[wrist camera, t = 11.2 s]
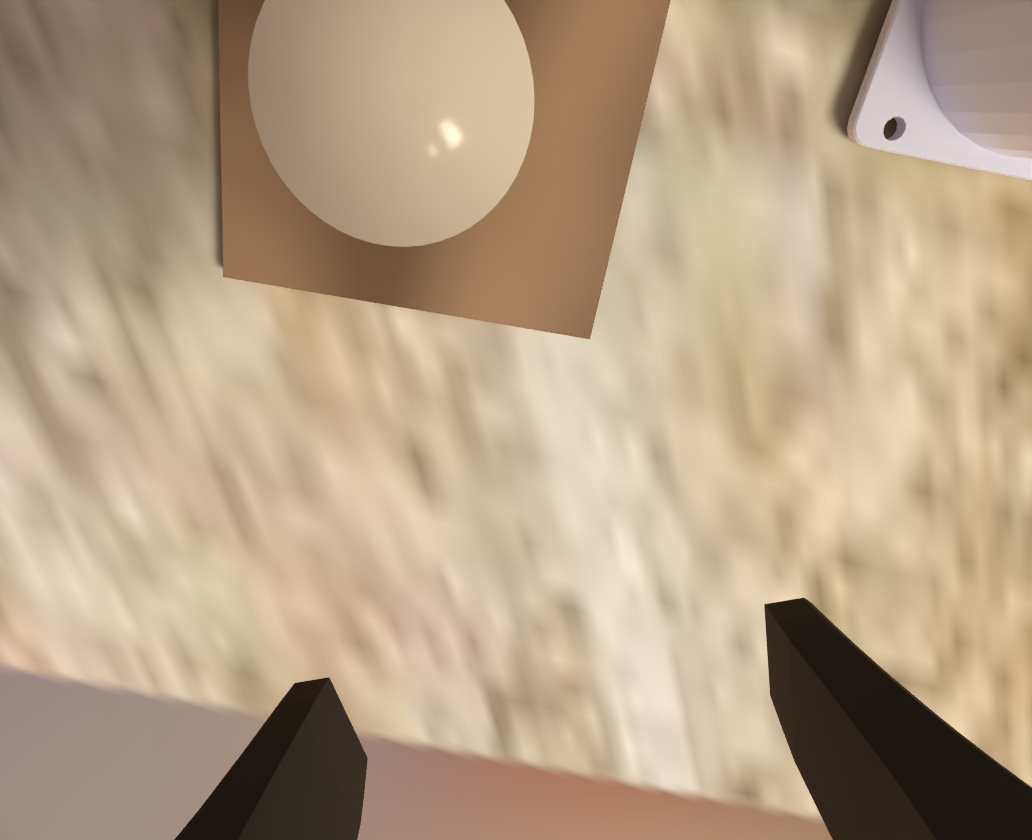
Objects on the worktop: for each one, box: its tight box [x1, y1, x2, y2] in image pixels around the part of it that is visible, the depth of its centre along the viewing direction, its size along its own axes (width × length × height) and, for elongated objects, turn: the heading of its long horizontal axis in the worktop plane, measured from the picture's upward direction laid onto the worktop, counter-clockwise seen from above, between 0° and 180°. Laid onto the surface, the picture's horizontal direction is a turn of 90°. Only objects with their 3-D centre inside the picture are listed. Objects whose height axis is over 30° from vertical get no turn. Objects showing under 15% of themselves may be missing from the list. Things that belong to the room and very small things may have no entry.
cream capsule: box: [248, 0, 535, 247], centre depth 13 cm, size 4×4×6 cm
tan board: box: [218, 0, 670, 339], centre depth 16 cm, size 10×10×1 cm
